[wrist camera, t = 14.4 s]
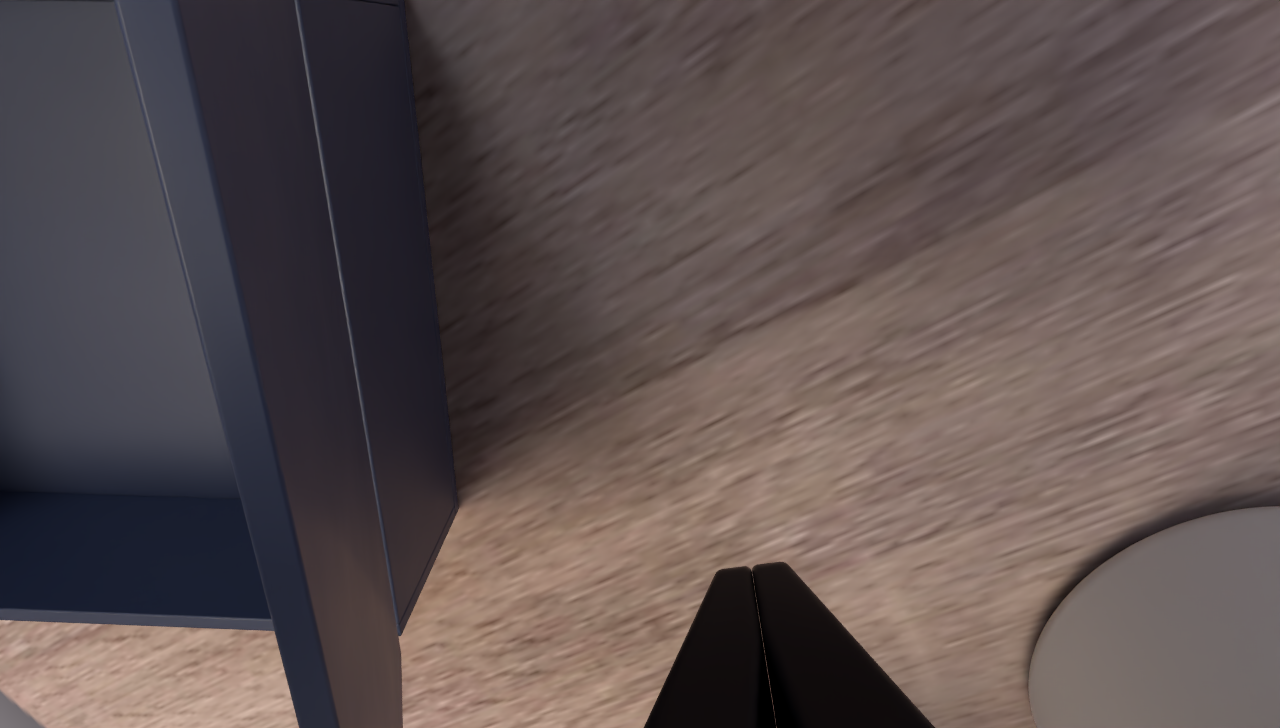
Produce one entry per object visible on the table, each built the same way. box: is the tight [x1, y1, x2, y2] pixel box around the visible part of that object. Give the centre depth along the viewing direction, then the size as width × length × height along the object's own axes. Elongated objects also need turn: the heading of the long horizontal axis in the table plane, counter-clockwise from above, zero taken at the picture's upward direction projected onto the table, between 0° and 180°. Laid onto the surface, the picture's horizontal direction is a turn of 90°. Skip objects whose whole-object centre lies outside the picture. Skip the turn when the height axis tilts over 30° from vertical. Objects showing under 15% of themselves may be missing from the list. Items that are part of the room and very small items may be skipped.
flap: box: [113, 0, 403, 728], centre depth 11 cm, size 8×15×1 cm
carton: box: [0, 0, 459, 636], centre depth 18 cm, size 16×15×5 cm
